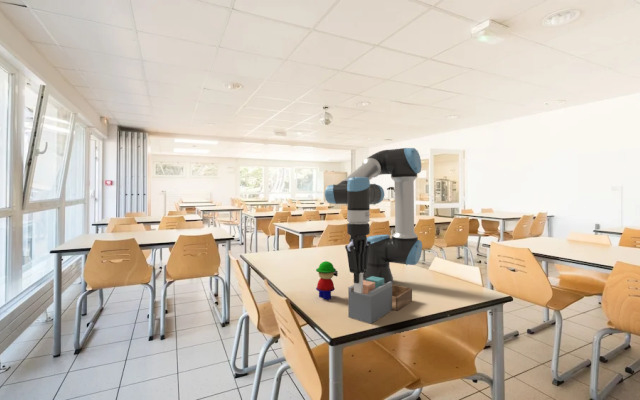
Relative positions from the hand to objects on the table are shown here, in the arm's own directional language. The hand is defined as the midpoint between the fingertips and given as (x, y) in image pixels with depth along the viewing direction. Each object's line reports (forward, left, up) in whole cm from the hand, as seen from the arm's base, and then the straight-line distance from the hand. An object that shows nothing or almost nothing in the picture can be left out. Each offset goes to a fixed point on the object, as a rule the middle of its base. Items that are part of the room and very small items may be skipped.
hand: (358, 291), depth 103 cm
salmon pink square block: (0, +5, -1) cm, 5 cm away
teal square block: (0, +12, -1) cm, 12 cm away
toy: (-23, +13, -10) cm, 29 cm away
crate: (0, +24, -10) cm, 26 cm away
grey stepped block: (0, +9, -10) cm, 13 cm away
